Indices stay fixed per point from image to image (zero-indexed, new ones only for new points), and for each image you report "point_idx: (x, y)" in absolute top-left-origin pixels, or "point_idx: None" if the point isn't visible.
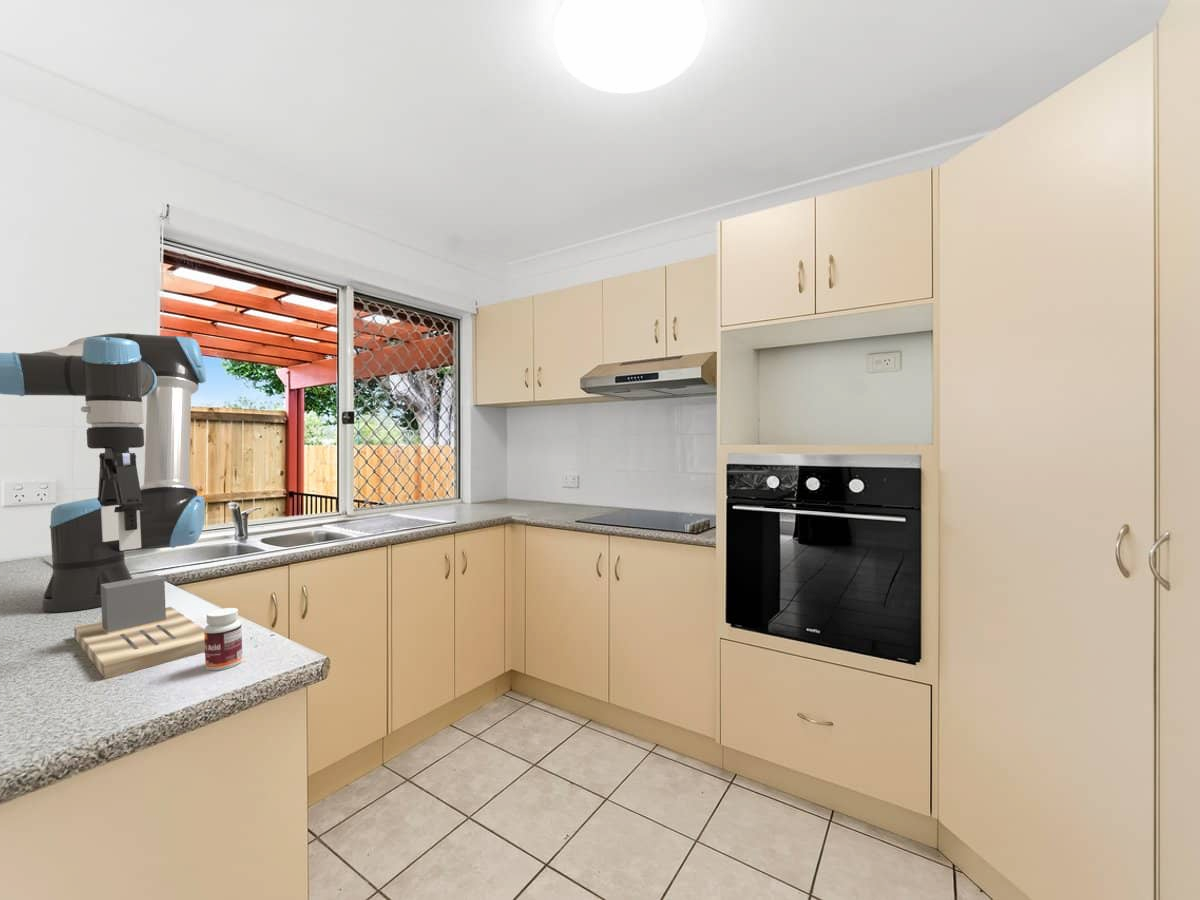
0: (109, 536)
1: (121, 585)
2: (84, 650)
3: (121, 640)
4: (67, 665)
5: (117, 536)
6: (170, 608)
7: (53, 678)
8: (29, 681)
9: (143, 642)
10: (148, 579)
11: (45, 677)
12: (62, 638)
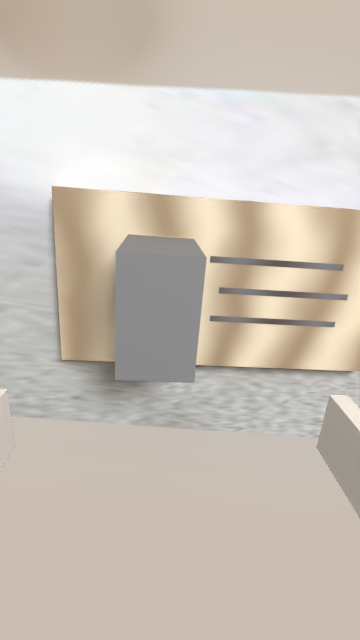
0: (1, 442)
1: (188, 352)
2: None
3: (253, 327)
4: (234, 380)
5: (2, 416)
6: (72, 192)
7: (279, 399)
8: (261, 418)
9: (308, 308)
10: (171, 289)
11: (263, 404)
12: (49, 361)
